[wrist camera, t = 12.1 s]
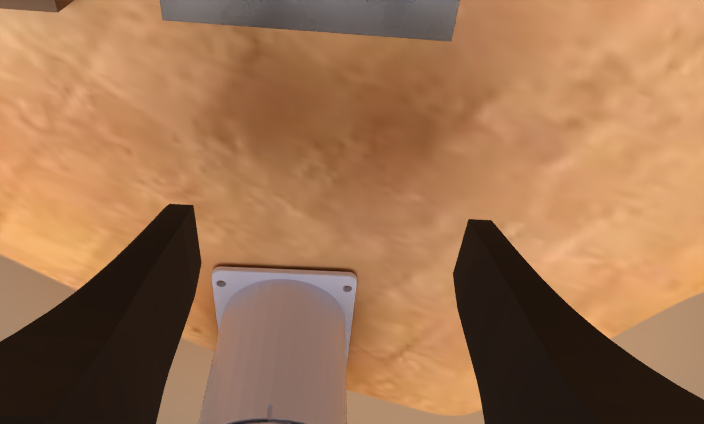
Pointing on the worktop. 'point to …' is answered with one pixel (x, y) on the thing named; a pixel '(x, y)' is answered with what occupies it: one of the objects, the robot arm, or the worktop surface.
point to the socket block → (325, 15)
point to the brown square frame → (35, 5)
